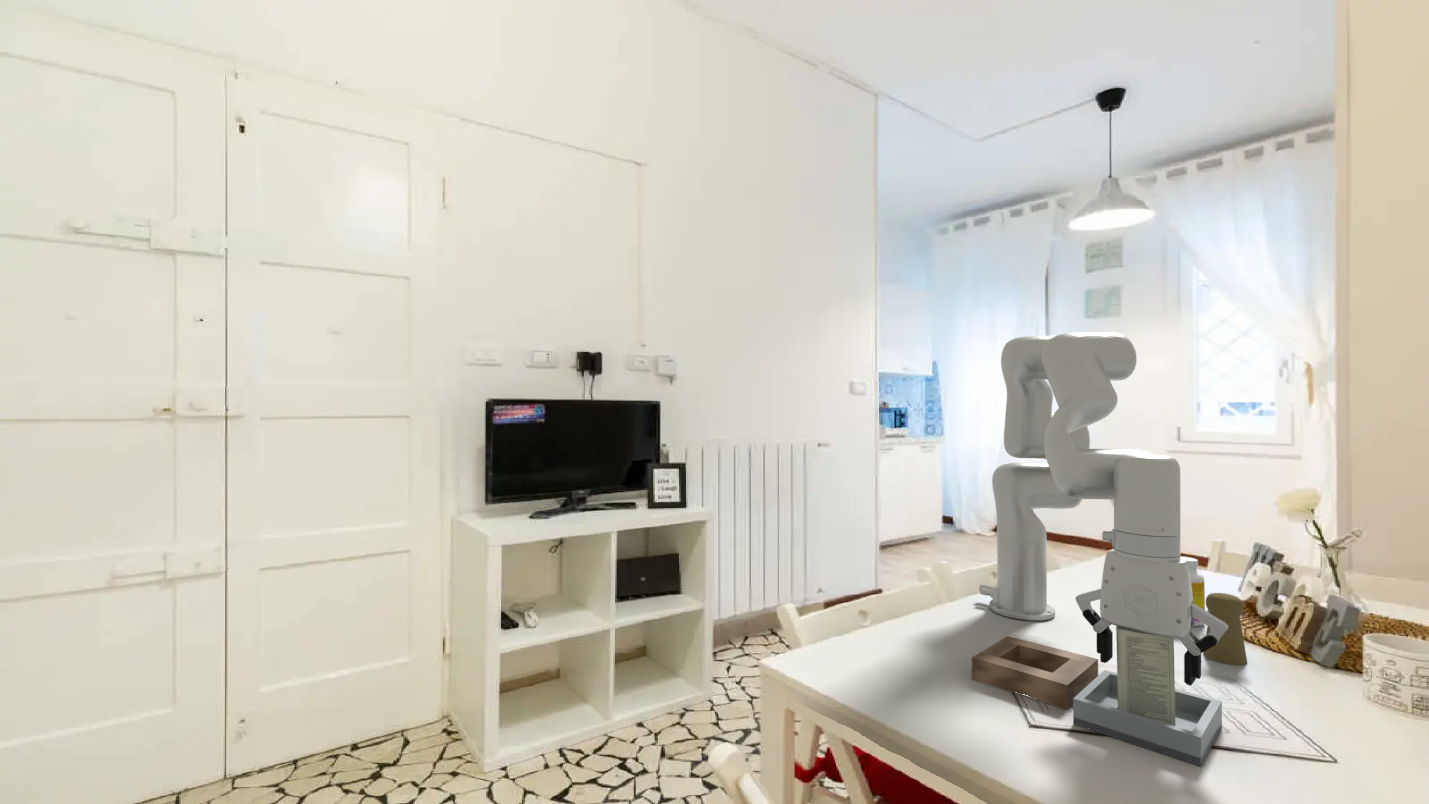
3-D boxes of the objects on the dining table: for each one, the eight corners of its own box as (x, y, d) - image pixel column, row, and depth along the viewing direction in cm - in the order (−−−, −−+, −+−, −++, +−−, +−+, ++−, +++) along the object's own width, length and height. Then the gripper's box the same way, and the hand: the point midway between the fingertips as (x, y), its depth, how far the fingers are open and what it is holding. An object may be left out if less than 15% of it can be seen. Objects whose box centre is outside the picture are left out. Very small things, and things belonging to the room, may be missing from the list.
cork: (1255, 666, 106) (1255, 600, 106) (1215, 663, 107) (1214, 598, 108) (1234, 652, 112) (1233, 590, 112) (1195, 650, 113) (1195, 588, 114)
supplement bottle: (1209, 622, 128) (1208, 559, 128) (1199, 629, 124) (1199, 564, 124) (1170, 614, 133) (1169, 553, 134) (1159, 620, 129) (1159, 557, 129)
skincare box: (1169, 715, 87) (1168, 626, 87) (1176, 729, 83) (1176, 636, 83) (1115, 705, 90) (1115, 619, 90) (1119, 719, 86) (1119, 629, 86)
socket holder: (971, 679, 101) (971, 657, 101) (1007, 655, 110) (1007, 635, 110) (1067, 709, 91) (1067, 685, 91) (1098, 681, 100) (1098, 659, 100)
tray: (1073, 724, 86) (1073, 698, 86) (1104, 693, 96) (1104, 670, 96) (1201, 766, 76) (1200, 737, 76) (1221, 727, 86) (1221, 701, 86)
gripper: (1067, 539, 90) (1067, 659, 90) (1221, 560, 77) (1222, 701, 77) (1085, 532, 95) (1085, 646, 95) (1232, 551, 83) (1232, 682, 82)
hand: (1146, 670), depth 86 cm, fingers open, 9 cm apart
